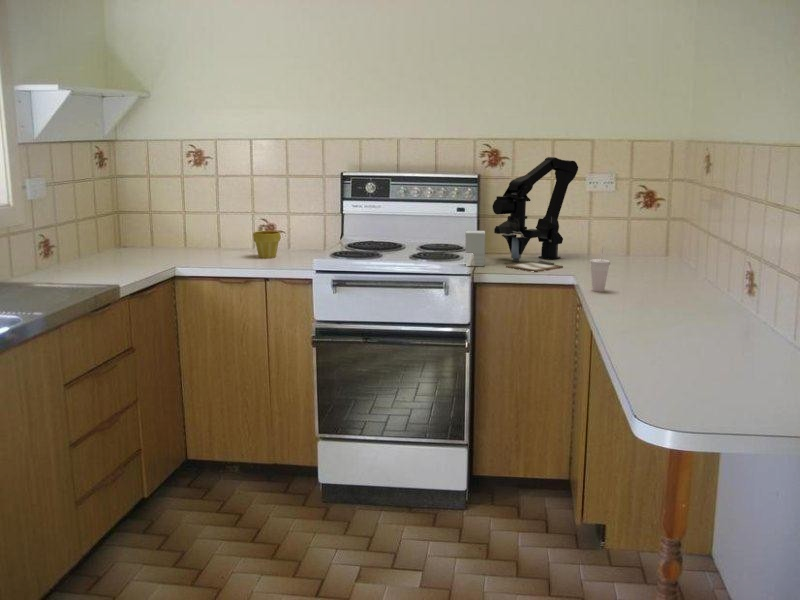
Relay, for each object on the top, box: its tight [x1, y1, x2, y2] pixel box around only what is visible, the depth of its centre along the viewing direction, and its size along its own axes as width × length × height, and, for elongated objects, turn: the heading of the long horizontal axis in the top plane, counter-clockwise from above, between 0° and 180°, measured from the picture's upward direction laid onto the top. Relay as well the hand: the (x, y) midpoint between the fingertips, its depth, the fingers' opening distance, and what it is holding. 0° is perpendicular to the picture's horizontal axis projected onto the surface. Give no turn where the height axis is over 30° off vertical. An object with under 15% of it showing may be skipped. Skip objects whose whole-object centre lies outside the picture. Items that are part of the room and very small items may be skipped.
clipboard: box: [505, 260, 564, 273], centre depth 308 cm, size 16×14×1 cm
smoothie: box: [589, 246, 611, 293], centre depth 265 cm, size 6×6×14 cm
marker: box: [510, 236, 522, 263], centre depth 320 cm, size 4×4×9 cm
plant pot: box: [252, 230, 281, 259], centre depth 325 cm, size 10×10×10 cm
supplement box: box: [464, 229, 486, 267], centre depth 312 cm, size 7×7×13 cm
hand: (516, 253), depth 321 cm, fingers closed on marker, 4 cm apart
